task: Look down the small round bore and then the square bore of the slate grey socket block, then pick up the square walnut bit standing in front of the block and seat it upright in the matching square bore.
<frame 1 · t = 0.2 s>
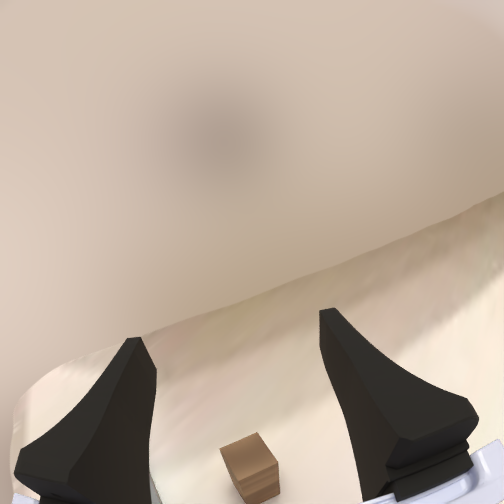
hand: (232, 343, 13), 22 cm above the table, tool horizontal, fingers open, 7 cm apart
square bit: (256, 488, 24), on the table
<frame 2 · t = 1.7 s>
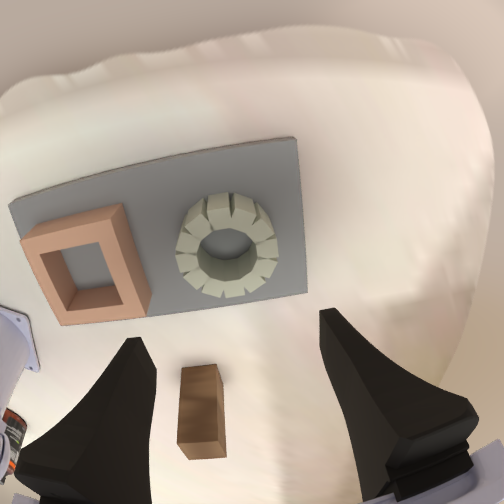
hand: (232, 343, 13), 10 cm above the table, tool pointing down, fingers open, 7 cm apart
socket block: (153, 242, 22), on the table
supplement bottle: (11, 416, 33), on the table
square bit: (203, 376, 29), on the table
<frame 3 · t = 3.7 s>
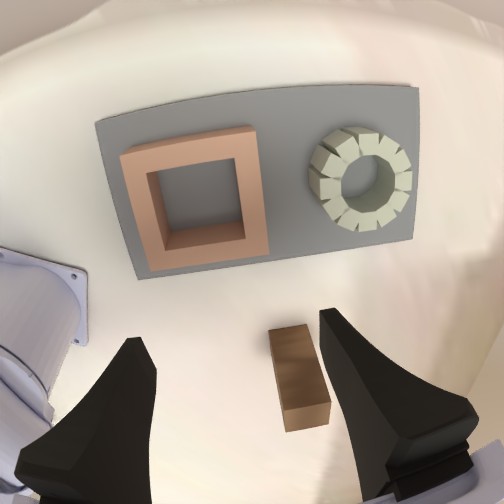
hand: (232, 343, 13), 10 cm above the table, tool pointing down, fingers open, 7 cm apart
socket block: (272, 176, 20), on the table
square bit: (288, 340, 27), on the table
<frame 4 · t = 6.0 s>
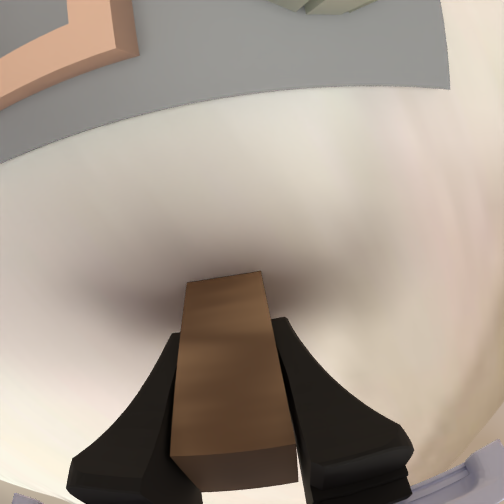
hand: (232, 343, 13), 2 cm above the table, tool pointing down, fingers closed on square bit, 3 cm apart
square bit: (229, 306, 15), on the table, touching gripper
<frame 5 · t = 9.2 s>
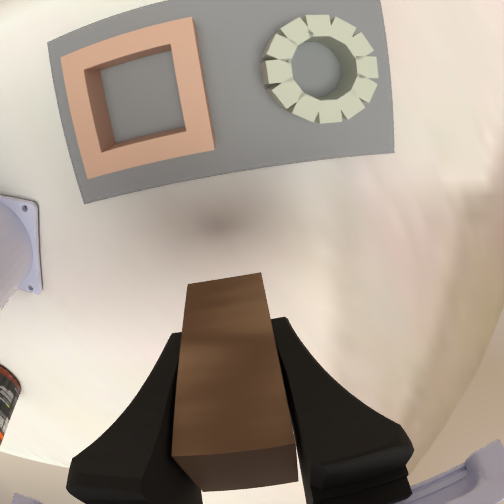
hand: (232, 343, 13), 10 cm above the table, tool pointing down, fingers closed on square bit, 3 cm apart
socket block: (223, 79, 17), on the table
supplement bottle: (2, 375, 28), on the table
square bit: (230, 307, 15), point 8 cm above the table, touching gripper
when the fingers open (5 cm above the table, at t = 12.3 s): square bit drops 1 cm, resting on socket block.
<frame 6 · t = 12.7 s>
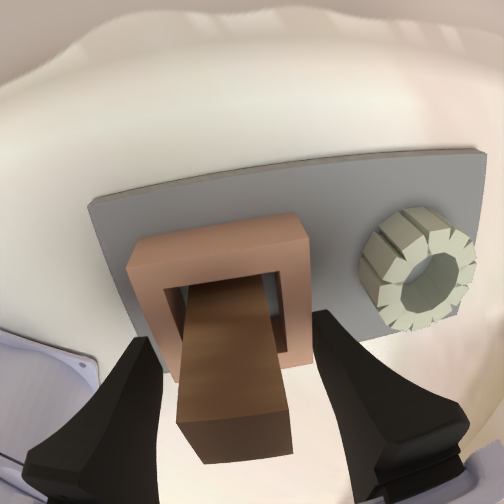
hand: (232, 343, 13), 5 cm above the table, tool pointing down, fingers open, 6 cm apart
socket block: (314, 264, 17), on the table
square bit: (230, 294, 16), point 1 cm above the table, touching socket block
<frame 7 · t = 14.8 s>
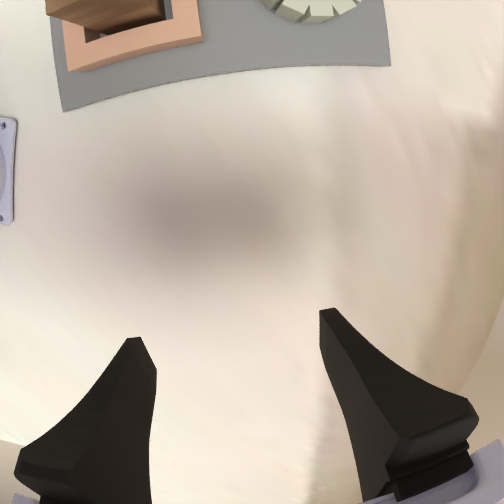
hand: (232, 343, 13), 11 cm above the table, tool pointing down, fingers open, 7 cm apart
square bit: (136, 5, 13), point 1 cm above the table, touching socket block
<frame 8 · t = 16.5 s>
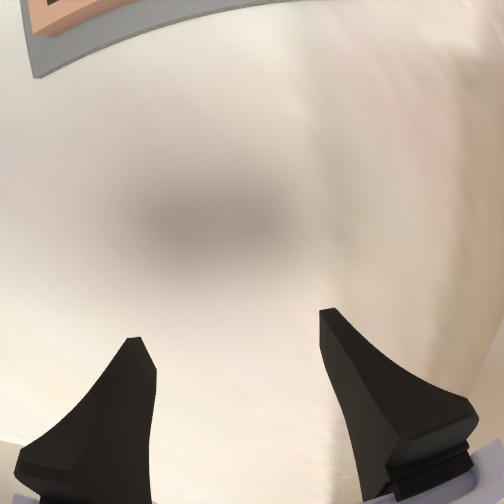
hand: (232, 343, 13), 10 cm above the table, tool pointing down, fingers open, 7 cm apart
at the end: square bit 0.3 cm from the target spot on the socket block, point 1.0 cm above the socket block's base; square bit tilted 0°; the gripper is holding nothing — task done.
